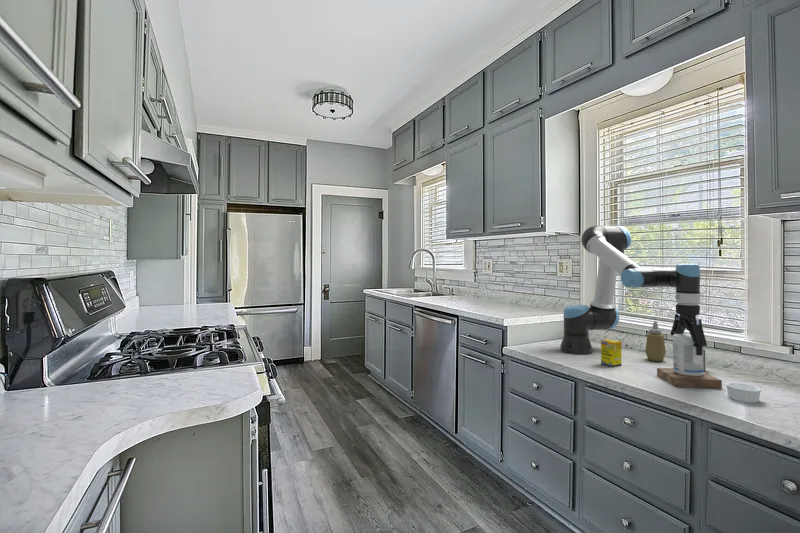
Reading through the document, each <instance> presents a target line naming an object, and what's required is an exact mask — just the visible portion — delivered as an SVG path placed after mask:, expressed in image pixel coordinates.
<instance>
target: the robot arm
mask: <svg viewBox="0 0 800 533" xmlns="http://www.w3.org/2000/svg"><path fill="white" fill-rule="evenodd" d="M580 241H581V242H580V243H581V245H582V247H583V248H584V249H585V251H586V252H588V253H589V254H591V255H593V254H594V255H595V256H597V257H598V258H599V262H598V269H597V278H596V283H595V284H596V285H595V292H594V298H593V300H592V301H590V304H589V306H588V304H587V305H586V304H574V305H569V306H567V307H565V308H564V310H563V315H562V316H563V337H562V340H561V343H560V348H559V350H560V351H561V352H564V353H566V354H573V355H588V354H592V353H593V346H592V343H591V340H590V337H589V332H590V331H607V330H613V329H614V328H617V326H618V324H619V323H620V314H619V310H618V309H617V308H616V305H615V304H614V298H615V290H616V283H617V275H620V281H621V282H622V285H623V286H624V287H626V288H633V289H637V288H666V287H667V288H668V287H669V288H674V289H675V295H674V298H675V303H676V304H675V314H674V320H673V324H672V327H671V330H670V336H673V335H674V334H685V331H688V332H689V334H690V335H691V337H692V340H693V342H694V345H693V364H702V347H703V348H704V347H707V345H708V344H707V339H706V336H705V332H704V328H703V324H702V323H703V322H702V319H701V318H697V316H699V315H701V310H700V309H701V306H700V304H701V291H700V290H701V271H700V270H701V269H700V268H701V267H700V265H699V264H697V263H676V266H675V268H670V267H669V268H666V267H657V268H642V267H641V266H640V265H638V264H637V263H636V262H634V261H633V260H631V259H630V258H629V257H628V256H626V255H625V254H624V252H625V250H628V248H629V247H630V246H631V244H632V235H631V232H630V231H629V229H628V228H627V227H625V226H623V225H616V224H615V225H593V226H590V227H588V228H586V229H585V230H584V231H583V232H582V235H581V239H580Z"/></svg>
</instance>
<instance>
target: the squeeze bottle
mask: <svg viewBox="0 0 800 533" xmlns="http://www.w3.org/2000/svg"><path fill="white" fill-rule="evenodd" d="M666 354H667V353H666V344H665V336H664V334H663V333H662V330H661V329H660V328H659V324H658V321H653V324H652V328H649V333H648V334H647V336H646V342H645V355H646V358H647V359H648V360H649V361H652V362H663V361H664V359H665V356H666Z"/></svg>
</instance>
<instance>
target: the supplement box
mask: <svg viewBox="0 0 800 533" xmlns="http://www.w3.org/2000/svg"><path fill="white" fill-rule="evenodd" d="M600 364H601V365H604V366H608V367H612V368H615V367H620V366H622V341H620V340H615V339H612V338H607V339H602V340H601V343H600Z"/></svg>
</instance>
